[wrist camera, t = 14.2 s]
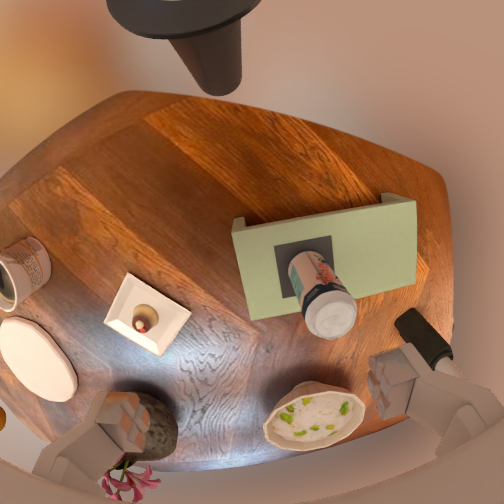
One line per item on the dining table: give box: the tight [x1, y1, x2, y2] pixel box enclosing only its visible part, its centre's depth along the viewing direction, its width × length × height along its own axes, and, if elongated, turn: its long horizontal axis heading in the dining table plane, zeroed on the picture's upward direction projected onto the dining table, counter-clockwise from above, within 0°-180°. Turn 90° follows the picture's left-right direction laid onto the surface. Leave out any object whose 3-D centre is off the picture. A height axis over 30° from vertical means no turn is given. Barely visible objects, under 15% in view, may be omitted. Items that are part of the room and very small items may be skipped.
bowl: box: [263, 381, 366, 451], centre depth 47 cm, size 19×19×10 cm
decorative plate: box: [0, 317, 78, 402], centre depth 48 cm, size 25×4×25 cm
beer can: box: [288, 251, 357, 340], centre depth 29 cm, size 5×5×12 cm
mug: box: [0, 237, 51, 312], centre depth 36 cm, size 10×12×11 cm
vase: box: [102, 391, 178, 503], centre depth 38 cm, size 17×17×30 cm
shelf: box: [232, 192, 417, 320], centre depth 38 cm, size 12×24×8 cm, turn 101°
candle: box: [395, 308, 469, 382], centre depth 36 cm, size 5×5×25 cm
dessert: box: [104, 273, 191, 358], centre depth 43 cm, size 12×12×5 cm
